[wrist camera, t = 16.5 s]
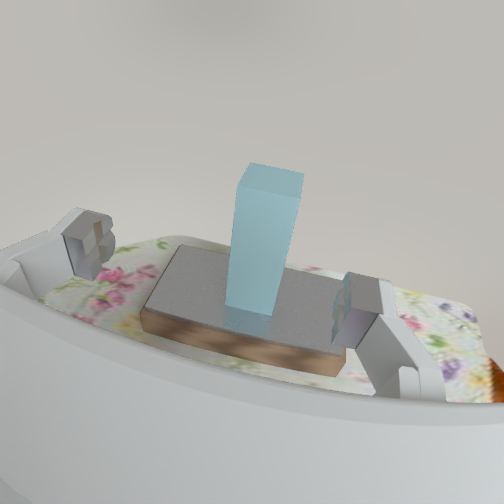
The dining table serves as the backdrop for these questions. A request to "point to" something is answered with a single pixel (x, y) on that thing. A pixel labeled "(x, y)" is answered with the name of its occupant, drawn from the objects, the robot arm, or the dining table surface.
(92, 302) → the dining table surface
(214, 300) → the plinth
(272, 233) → the teal block
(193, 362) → the robot arm
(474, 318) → the dining table surface
